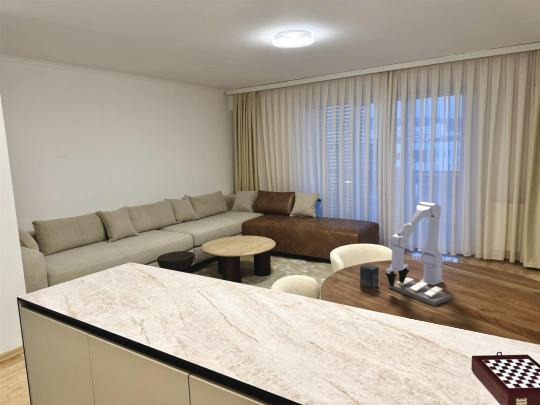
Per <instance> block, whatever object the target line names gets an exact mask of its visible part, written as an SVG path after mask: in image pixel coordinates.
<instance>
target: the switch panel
mask: <svg viewBox="0 0 540 405" xmlns="http://www.w3.org/2000/svg"><path fill="white" fill-rule="evenodd" d="M398 281H399V280H398ZM398 281H395V283H394V286H393V287H392V286H390V285H389V284H388V289H391V290H392V291H393V290H394V291H397V292H398V293H400V294H404V295H406V296H408V297H411V298H412V299H416V300H419V301H421V302H423V303H426V304H429V305H431V306H433V307H436V306H438V305H440V304H442V303H445V302H447V301H450V300H452V295H451V294H448V293H445V292H443V291H440V292H439V293H437V294H436V295H434V296H433V297H429V296H426V295H424V293H426V292H427V291H429V290H430V289H432V288H433V287H430V286H428V285H427V286H425V287H423V288H422V289H420V290H418V291H417V292H415V291H413V290H410V288H411V287H412V286H414V285H416V284H417V283H418V282H415V281H412V282H410V283H408V284H405V285H403V286H402V285H399V284H397V282H398Z"/></svg>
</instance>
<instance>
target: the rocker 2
mask: <svg viewBox="0 0 540 405" xmlns="http://www.w3.org/2000/svg"><path fill="white" fill-rule="evenodd" d="M416 283H417V284H416V285H414V286H412V287H411V288H410V290H413V291H415V292H417V291H418V290H420V289H422V288H423V287H425V286H427V287H428V285H429V284H428V283H425V282H422V281H419V282H416Z"/></svg>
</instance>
